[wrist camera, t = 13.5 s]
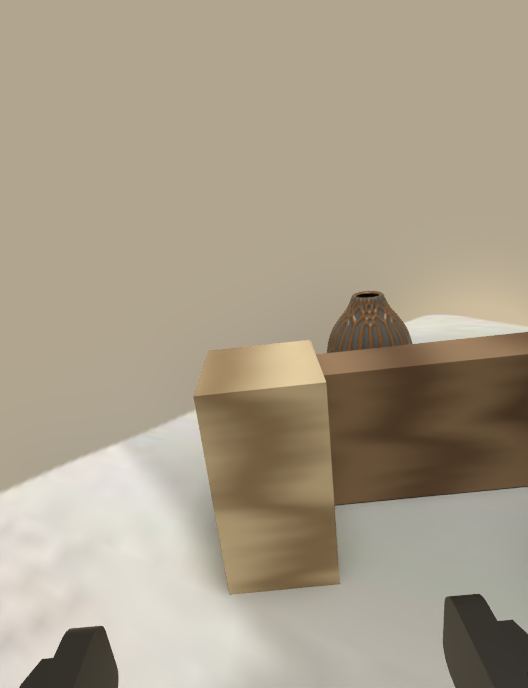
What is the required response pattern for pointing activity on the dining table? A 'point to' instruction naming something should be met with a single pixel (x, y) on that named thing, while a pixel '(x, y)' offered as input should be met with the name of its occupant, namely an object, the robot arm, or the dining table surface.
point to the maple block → (269, 465)
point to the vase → (368, 325)
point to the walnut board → (428, 418)
